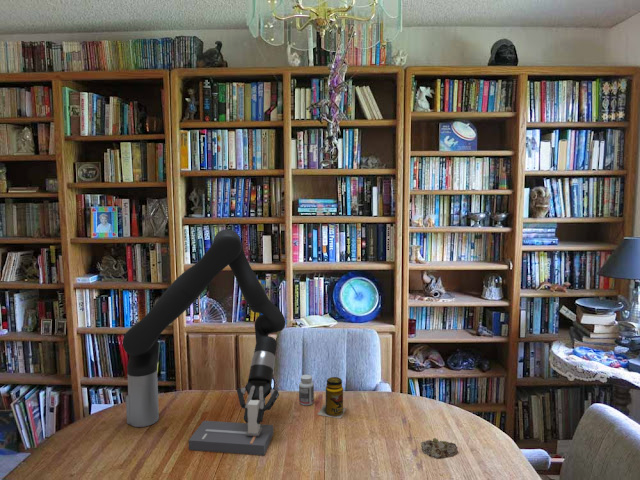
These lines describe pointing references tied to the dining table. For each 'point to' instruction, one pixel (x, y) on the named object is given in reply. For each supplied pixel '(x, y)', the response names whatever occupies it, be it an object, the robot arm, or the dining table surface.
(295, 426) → the dining table surface
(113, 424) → the dining table surface
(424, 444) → the mineral rock
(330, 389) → the condiment
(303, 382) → the pill bottle
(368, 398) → the dining table surface
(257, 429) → the fader tab
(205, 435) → the console
